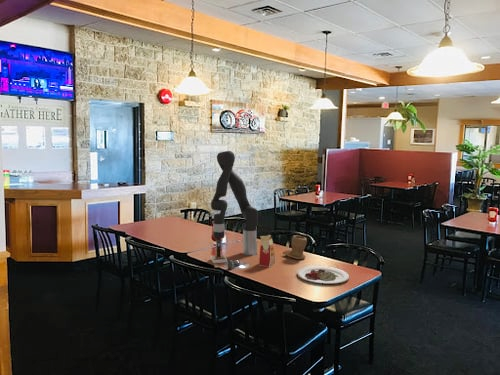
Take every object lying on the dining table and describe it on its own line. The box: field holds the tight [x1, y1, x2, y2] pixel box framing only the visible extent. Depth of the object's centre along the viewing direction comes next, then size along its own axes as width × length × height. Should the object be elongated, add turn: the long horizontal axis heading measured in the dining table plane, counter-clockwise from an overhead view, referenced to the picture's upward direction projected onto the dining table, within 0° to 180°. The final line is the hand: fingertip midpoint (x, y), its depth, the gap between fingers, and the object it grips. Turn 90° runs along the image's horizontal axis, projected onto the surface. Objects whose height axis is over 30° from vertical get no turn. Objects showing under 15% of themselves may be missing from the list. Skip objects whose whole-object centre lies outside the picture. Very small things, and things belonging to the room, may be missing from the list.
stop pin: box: [214, 245, 222, 260], centre depth 266 cm, size 4×4×8 cm
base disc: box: [213, 261, 250, 270], centre depth 256 cm, size 22×16×2 cm
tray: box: [210, 254, 228, 264], centre depth 266 cm, size 9×9×2 cm
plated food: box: [296, 265, 350, 285], centre depth 240 cm, size 30×30×3 cm
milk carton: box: [258, 234, 277, 269], centre depth 259 cm, size 9×9×20 cm
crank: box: [227, 259, 241, 271], centre depth 253 cm, size 13×4×5 cm, turn 155°
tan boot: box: [282, 234, 308, 260], centre depth 278 cm, size 15×12×15 cm
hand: (218, 255), depth 266 cm, fingers closed on stop pin, 4 cm apart
